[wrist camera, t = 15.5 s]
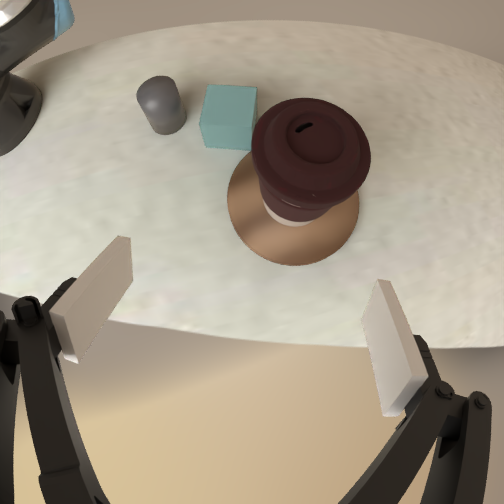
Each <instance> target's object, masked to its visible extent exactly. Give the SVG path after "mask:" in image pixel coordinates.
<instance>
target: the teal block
mask: <svg viewBox="0 0 504 504" xmlns="http://www.w3.org/2000/svg"><path fill="white" fill-rule="evenodd" d="M256 113H257V87H246V86H230V85H208V86H207V91H206V95H205V99H204V104H203V108H202V113H201V117H200V122H199V126H200V129H201V133H202V136H203V140H204V143H205V146H206V147H208V148H223V149H236V150H248V151H251V140H252V134H253V131H254V128H255V121H256Z"/></svg>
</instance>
